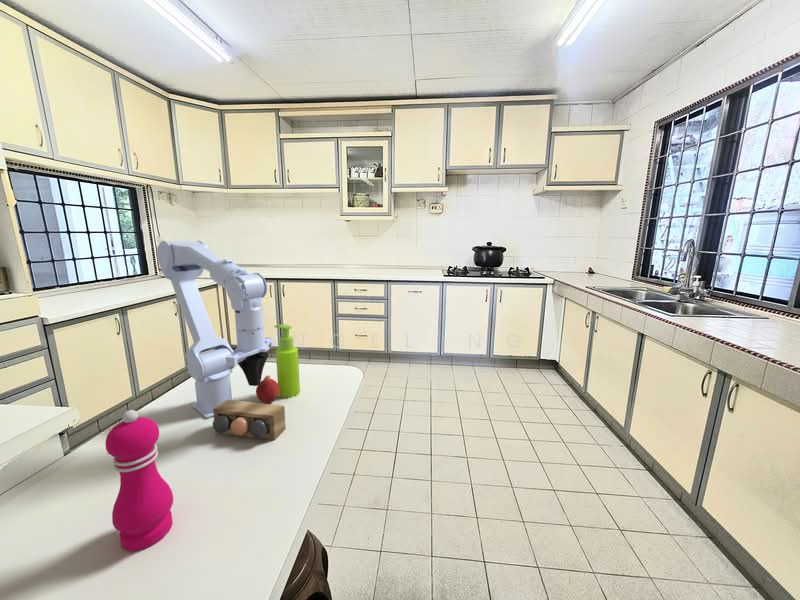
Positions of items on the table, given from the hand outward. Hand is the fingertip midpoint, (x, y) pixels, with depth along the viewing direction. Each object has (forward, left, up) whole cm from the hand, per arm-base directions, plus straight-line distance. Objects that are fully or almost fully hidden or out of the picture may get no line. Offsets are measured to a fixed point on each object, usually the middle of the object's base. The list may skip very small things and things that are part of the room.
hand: (254, 384), depth 77 cm
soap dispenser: (-10, +14, -11) cm, 20 cm away
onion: (-8, +7, -11) cm, 15 cm away
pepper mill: (+16, -25, -11) cm, 31 cm away
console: (+1, -2, -10) cm, 11 cm away
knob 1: (-2, -5, -9) cm, 11 cm away
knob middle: (+1, -3, -9) cm, 10 cm away
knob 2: (+5, -1, -9) cm, 11 cm away
